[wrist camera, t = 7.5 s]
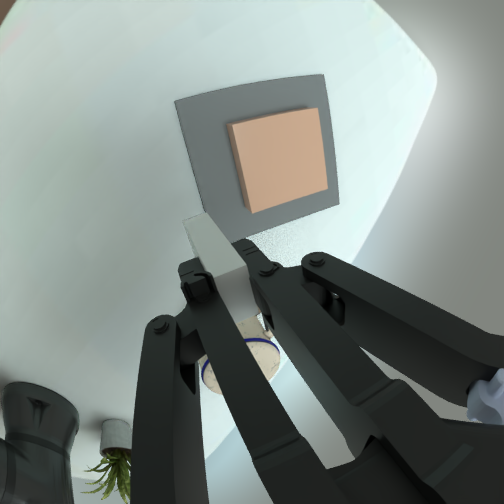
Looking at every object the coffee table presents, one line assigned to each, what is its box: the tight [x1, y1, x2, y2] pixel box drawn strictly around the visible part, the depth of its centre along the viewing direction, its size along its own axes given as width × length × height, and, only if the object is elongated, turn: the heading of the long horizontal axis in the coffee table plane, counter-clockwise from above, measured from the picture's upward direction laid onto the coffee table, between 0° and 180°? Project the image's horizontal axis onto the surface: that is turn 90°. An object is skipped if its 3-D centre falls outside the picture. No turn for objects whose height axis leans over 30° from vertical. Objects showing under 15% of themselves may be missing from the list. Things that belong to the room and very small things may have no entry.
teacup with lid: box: [198, 306, 280, 395], centre depth 32 cm, size 12×9×12 cm
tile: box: [226, 107, 328, 213], centre depth 28 cm, size 2×9×9 cm
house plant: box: [84, 419, 132, 504], centre depth 33 cm, size 14×14×16 cm
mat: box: [175, 74, 339, 243], centre depth 29 cm, size 16×16×1 cm
